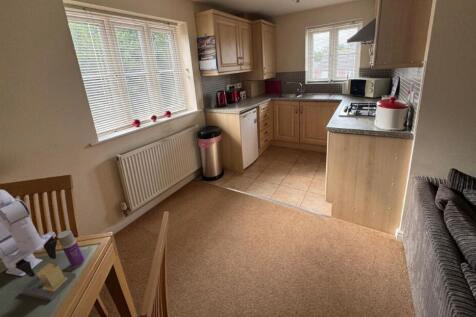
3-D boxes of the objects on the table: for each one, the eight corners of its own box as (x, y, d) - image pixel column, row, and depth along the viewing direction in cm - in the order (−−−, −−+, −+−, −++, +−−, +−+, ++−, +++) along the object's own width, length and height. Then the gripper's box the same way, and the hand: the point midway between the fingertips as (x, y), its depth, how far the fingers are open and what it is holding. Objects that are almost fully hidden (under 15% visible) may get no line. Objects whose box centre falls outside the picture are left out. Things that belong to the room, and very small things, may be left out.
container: (78, 268, 93) (64, 238, 87) (68, 267, 94) (53, 237, 88) (87, 259, 97) (74, 230, 91) (78, 258, 98) (64, 229, 92)
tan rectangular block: (44, 287, 84) (36, 273, 81) (56, 277, 88) (48, 263, 85) (53, 289, 82) (45, 275, 80) (65, 278, 86) (58, 264, 84)
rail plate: (20, 294, 84) (18, 290, 83) (47, 271, 93) (45, 267, 92) (51, 301, 80) (49, 297, 80) (76, 276, 89) (74, 273, 89)
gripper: (10, 254, 69) (30, 286, 75) (56, 222, 82) (70, 252, 87) (-7, 251, 71) (14, 283, 76) (40, 220, 84) (55, 250, 89)
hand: (43, 266), depth 82 cm, fingers open, 7 cm apart
